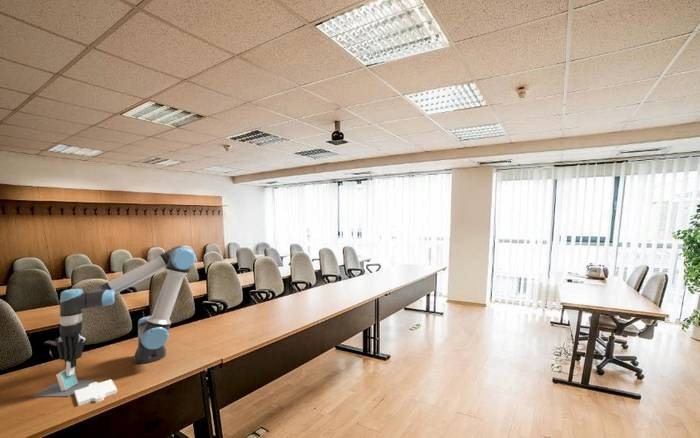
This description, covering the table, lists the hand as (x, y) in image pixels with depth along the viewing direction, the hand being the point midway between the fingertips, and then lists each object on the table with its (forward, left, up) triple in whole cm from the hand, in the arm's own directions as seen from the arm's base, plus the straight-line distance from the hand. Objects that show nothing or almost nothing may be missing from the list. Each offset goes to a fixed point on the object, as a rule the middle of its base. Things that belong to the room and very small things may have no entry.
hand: (70, 374), depth 136 cm
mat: (+3, 0, -7) cm, 7 cm away
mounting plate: (-15, +4, -7) cm, 17 cm away
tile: (0, 0, -6) cm, 6 cm away
